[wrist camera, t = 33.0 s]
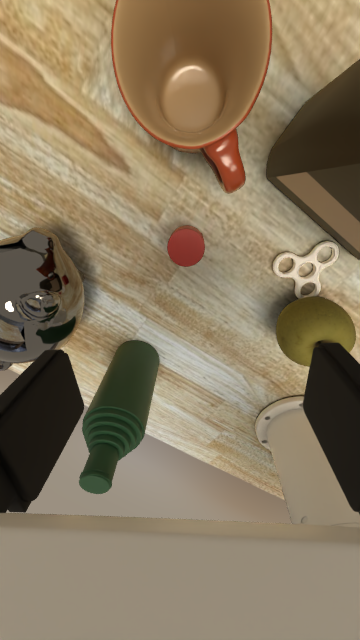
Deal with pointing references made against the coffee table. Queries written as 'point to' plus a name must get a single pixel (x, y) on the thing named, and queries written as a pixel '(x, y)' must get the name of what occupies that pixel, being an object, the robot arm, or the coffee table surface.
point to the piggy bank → (37, 296)
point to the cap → (186, 246)
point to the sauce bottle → (118, 413)
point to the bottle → (325, 159)
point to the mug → (193, 73)
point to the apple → (313, 328)
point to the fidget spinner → (302, 260)
